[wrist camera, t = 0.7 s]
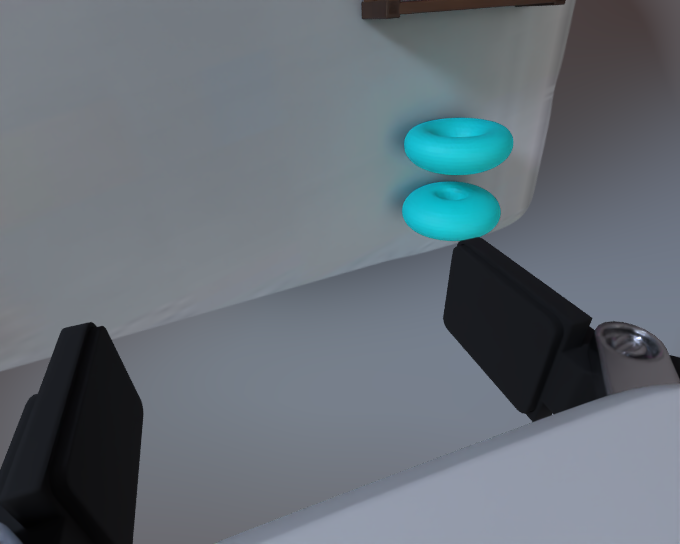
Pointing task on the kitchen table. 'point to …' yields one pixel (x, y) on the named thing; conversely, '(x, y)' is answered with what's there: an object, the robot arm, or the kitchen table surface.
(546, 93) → the kitchen table surface
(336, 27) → the kitchen table surface
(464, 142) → the donuts
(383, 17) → the crate
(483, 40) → the kitchen table surface
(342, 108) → the kitchen table surface
